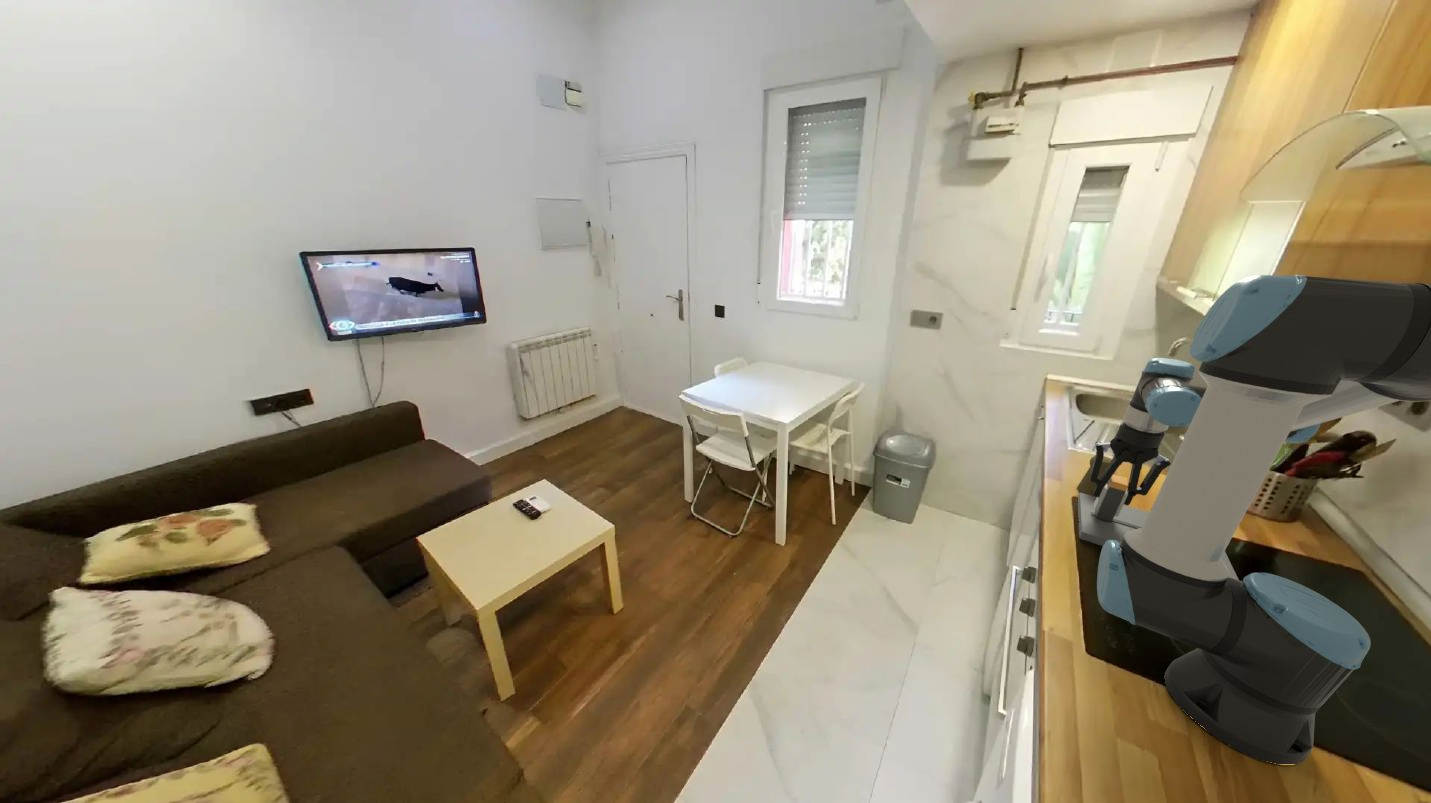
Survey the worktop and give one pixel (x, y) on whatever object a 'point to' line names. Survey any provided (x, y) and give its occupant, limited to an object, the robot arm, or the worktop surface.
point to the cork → (1086, 484)
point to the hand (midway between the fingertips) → (1105, 510)
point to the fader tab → (1112, 498)
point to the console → (1115, 525)
